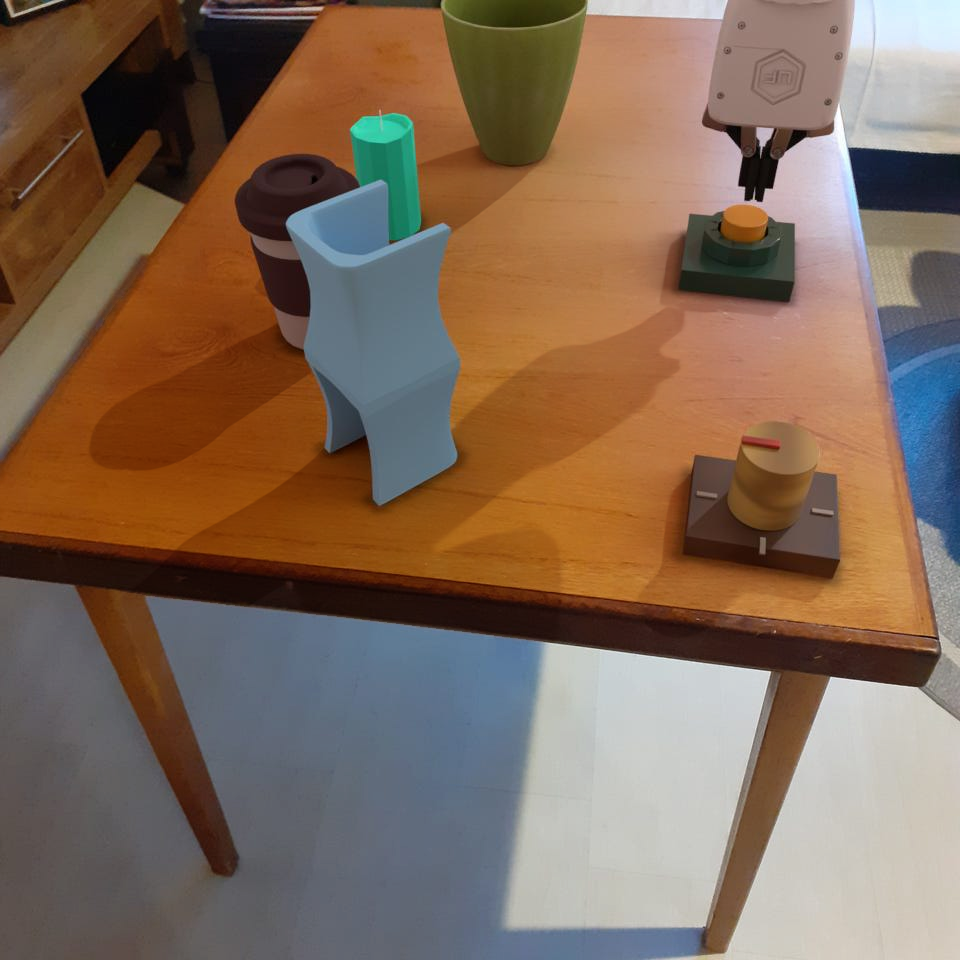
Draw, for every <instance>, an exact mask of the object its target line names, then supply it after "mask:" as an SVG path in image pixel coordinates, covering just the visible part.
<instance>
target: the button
mask: <svg viewBox="0 0 960 960" xmlns="http://www.w3.org/2000/svg"><path fill="white" fill-rule="evenodd" d="M723 211H724V213H723V218H722V224H721V229H720V231H721V234H722V235H723V236H724V237H725V238H728V239H730V240H733V241H736V242H746V243H751V242H756V241H760V240H761V239H763V237H764V235H765V231H766V226H767V222H768V216H769V215H768V214H767V212H766V211H765V210H764V209H762V208H761V207H758V206H756V205H751V204H735V205H731V206H729V207H727V208H725V210H723Z"/></svg>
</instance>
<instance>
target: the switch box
mask: <svg viewBox="0 0 960 960" xmlns="http://www.w3.org/2000/svg"><path fill="white" fill-rule="evenodd" d="M724 211H725V210H722V211H717V212H715V213H713V214H712V215H709V214H700V213H689V214H688V221H687V228H686V235H685V240H684V248H683V254H682V255H683V256H682V261H681V267H680V275H679V280H678V287H677V290H678V291H685V292H686V291H687V292H693V293H701V294H702V293H704V294H712V295H721V296H731V297H739V298H740V297H741V298H749V299H758V300H767V301H776V302H777V301H778V302H785V303H786V302H787V303H789V302H790V301H791V298H792V295H793V291H794V286H795V283H796V259H795V258H796V223H794V222H786V221H785V222H783V221H776V220H775V219H774V218H773V217H771V216H769V215H768V222H767V226H766V231H765V235H764V237H763V239H761V240H760V241H756V242H751V243H746V242H736V241H733V240H730V239H728V238H725V237H724V236H723V235H722V234H721V231H720V229H721V224H722V218H723V213H724Z"/></svg>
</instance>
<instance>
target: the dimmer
mask: <svg viewBox="0 0 960 960" xmlns="http://www.w3.org/2000/svg"><path fill="white" fill-rule="evenodd" d="M735 463H736V459H729V458H722V457H716V456H715V457H714V456H708V455H701V454H700V455H699V454H694V458H693V462H692V468H691V473H690V482H689V489H688V491H689V492H688V499H687V508H686V519H685V527H684V528H685V529H684V538H683V545H682V555H683V556H690V557H695V558H696V557H697V558H703V559H708V560H709V559H711V560H716V561H721V562H728V563H735V564H741V565H746V566H753V567H758V568H764V569H765V568H766V569H771V570H777V571H783V572H791V573H796V574H802V575H803V574H804V575H809V576H815V577H821V578H827V579H834V577H835V575H836V572H837V571H838V567H839V565H840V562H841V541H840V539H841V538H840V537H841V536H840V514H839V492H838V491H839V490H838V488H839V487H838V474H836V473H829V472H823V471H815V473H814V476H813V479H812V482H811V485H810V488H809V491H808V494H807V497H806V500H805V503H804V506H803V508H802V511H801V514H800V517H799V519H798V520H797V521H796V522H795V523H794V524H793V525H791V526H790V527H788V528H785V529H782V530H777V531H765V530H759V529H756V528H752V527H750V526H748V525H746V524H744V523H743V522H741V521H740V520H738V519H737V518H736V517H735V516H734V515H733V513H732V512H731V510H730V508H729V506H728V502H727V497H728V492H729V488H730V484H731V480H732V476H733V471H734V467H735Z"/></svg>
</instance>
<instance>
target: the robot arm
mask: <svg viewBox="0 0 960 960" xmlns="http://www.w3.org/2000/svg"><path fill="white" fill-rule="evenodd" d="M855 4H856V0H727V1H726V5H725V7H724V8H725V9H724V12H723V16H722V21H721V25H720V29H719V32H718V38H717V43H716V48H715V51H714V59H713V64H712V69H711V75H710V81H709V88H708V95H707V96H708V97H707V103H706V105H705V108H704V111H703V114H702V118H701V125H702V126H703V127H705V128H707V129H710V130H713V131H716V132H720V133H726V134H727V136H728V137H729V138H730V139H731V140H732V141H733V143H734V144H735V146H736V147H737V148H738V149H739V150H740V154H741V155H742V157H741V162H740V169H739V175H738V181H737V187H738V188H744V195H743V196H744V197H743V201H744V202H751V201H753V200H754V201H756V203H763V201H764V197H765V192H766V190H773V189H774V187H775V182H776V176H777V171H778V167H779V163H780V162H779V161H780V159H782V158H783V157H784V156H785V153H786V152H788V151H789V150H791V149H792V148H793V147H795V146H796V145H797V144H799V143H800V142H802V141H803V140H805V139H807V138H809V139H812V138H818V137H824V136H826V137H827V136H829V135H832V134H833V133H834V131H835V117H836V115H837V112H838V107H839V104H840V99H841V95H842V91H843V85H844V81H845V76H846V70H847V66H848V61H849V60H848V59H849V53H850V47H851V44H852V43H851V42H852V35H853V28H854V17H855V7H856V6H855ZM758 128H763V129H772V132H771V135H770V138H769V139H768V140H766V142H765V145H762V146H761V145H760V144H761V140H760V138H758V135H757V133H758Z"/></svg>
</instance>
